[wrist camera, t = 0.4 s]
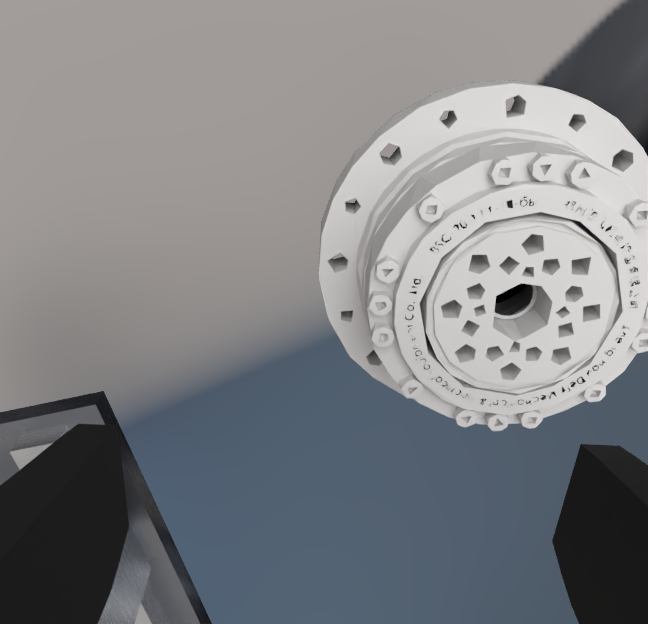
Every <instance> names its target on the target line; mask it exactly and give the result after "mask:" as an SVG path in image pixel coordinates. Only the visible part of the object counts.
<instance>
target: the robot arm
mask: <svg viewBox="0 0 648 624" xmlns="http://www.w3.org/2000/svg"><path fill="white" fill-rule="evenodd" d="M128 528H129V520H128V511H127V502H126V493H125V484H124V475H123V466H122V457H121V448H120V440H119V431H118V425H99V424H77V425H76V426H74V427H73V428H72V429H70V430H69V431H68V432H66V433H65V434H64V435H63V436H61V437H60V438H59V439H58V440H56V441H55V442H54V443H53V444H51V445H50V446H49V447H48V448H46V449H45V450H44V451H43V452H41V453H40V454H39V455H38V456H36V457H35V458H34V459H33V460H32V461H30V462H29V463H28V464H27V465H25V466H24V467H23V468H22V469H20V470H19V471H18V472H17V473H15V474H14V475H13V476H12V477H10V478H9V479H8V480H7V481H5V482H4V483H3V484H1V485H0V624H98V622H99V620H100V617H101V615H102V612H103V610H104V607H105V605H106V602H107V600H108V597H109V595H110V592H111V590H112V586H113V583H114V579H115V576H116V572H117V569H118V566H119V562H120V558H121V555H122V551H123V547H124V543H125V540H126V536H127V532H128ZM553 545H554V549H555V552H556V556H557V559H558V563H559V566H560V570H561V574H562V577H563V580H564V583H565V587H566V590H567V593H568V596H569V599H570V602H571V605H572V608H573V610H574V612H575V615H576V617H577V619H578V622H579V624H648V465H646V464H645V463H644V462H642V461H641V460H640V459H638V458H637V457H635V456H634V455H632V454H631V453H629V452H628V451H626V450H625V449H623V448H622V447H620V446H611V445H610V446H609V445H586V444H581V445H580V449H579V452H578V456H577V459H576V463H575V466H574V469H573V473H572V476H571V479H570V483H569V487H568V490H567V493H566V496H565V500H564V503H563V507H562V510H561V514H560V517H559V520H558V524H557V527H556V531H555V534H554V537H553Z"/></svg>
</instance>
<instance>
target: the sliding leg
mask: <svg viewBox="0 0 648 624" xmlns="http://www.w3.org/2000/svg"><path fill="white" fill-rule="evenodd" d="M150 571H151V566H150V564H149V562H148V560H147V558H146V556H145V554H144V552H143V550H142V548H141V546H140V544H139V542H138V540H137V538H136V536H135V534H134V532H133V530H132V528H131V526H130V524H129V528H128V532H127V536H126V540H125V543H124V547H123V551H122V555H121V558H120V562H119V566H118V569H117V572H116V576H115V579H114V583H113V586H112V590H111V592H110V595H109V597H108V600H107V602H106V605H105V607H104V610H103V612H102V615H101V617H100V620H99V622H98V624H134V623H135V620H136V617H137V614H138V610H139V607H140V604H141V601H142V597H143V594H144V591H145V588H146V584H147V581H148V578H149V575H150Z"/></svg>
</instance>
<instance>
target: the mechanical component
mask: <svg viewBox="0 0 648 624" xmlns="http://www.w3.org/2000/svg"><path fill="white" fill-rule="evenodd" d="M512 97H513V98H514V100H515V101H514V104H513V106H512V109H511V111H507V112H506V100H508V99H510V98H512ZM444 111H449V113H448V118H447V119H446V120H443V121H440V117H441V116H442V114H443V112H444ZM388 143H390V144H393V145H396V146H398V148H397V149H396V151H395V152H394V153H393V154H392V156H391V157H390V158H388V157H384V156H380V154H379V153H380V152H381V151H382V150H383V149H384V148H385V146H386V145H387V144H388ZM613 156H614V157H613ZM355 198H356V199H357V200H356V201H355V203H346V201H349V200H352V199H355ZM339 253H341V254H342V255H343V256H344V257H341V258H337V259H332V258H333V257H334V256H336V255H338V254H339ZM318 277H319V282H320V286H321V290H322V295H323V299H324V303H325V307H326V312H327V316H328V319H329V321H330V323H331V325H332V326H333V328H334V330H335V332H336V333H337V335H338V337H339V339H340V340H341V342H342V344H343V346H344V347H345V349H346V351H347V353H348V354H349V356H350V357H351V358H352V359H353V360H354V361H355V362H356V363H357V364H359V365H360V366H361V367H362V368H363V369H364V370H365V371H366V372H367V373H369V374H370V375H371V376H372V377H373V378H375V379H376V380H378V381H380V382H381V383H383V384H385V385H386V386H388V387H390V388H392V389H393V390H395V391H397V392H398V393H400V394H402V395H404V396H405V397H406V398H412V399H415V400H416V401H417V402H418V403H420V404H422V405H424V406H426V407H428V408H430V409H432V410H435V411H437V412H439V413H441V414H443V415H445V416H447V417H450V418H454V419H455V420H456V422H457V424H458V425H459V426H462V427H468V426H471V425H473V424H475V423H477V424H487V425H488V426H489V428H490V429H491V430H492V431H502V430H503V429H504V428H506V427H507V426H508V424H518V423H521V424H522V426H524V427H526V428H536V427H537V426H538V425H539V423H541V421H542V418H545V417H548V416H551V415H553V414H556V413H559V412H562V411H565V410H567V409H569V408H571V407H573V406H575V405H577V404H579V403H582V402H584V401H586V400H588V402H595V401H600V400H601V399H602V398H603V397H604V396H605V395H606V387H605V386H606V385H607V384H609V383H610V382H611V381H612V380H614V379H615V378H616V377H617V376H619V375H620V374H621V373H622V372H624V371H625V369H626V367H627V366H628V365H629V363H630V362H631V360H632V359H633V358H634V356H635V355H636V353H640V352H645V351H648V157H647V155H646V153H645V151H644V149H643V147H642V146H641V145H640V144H639V143H638V142H637V140H636V139H635V138H634V137H633V136H632V135H631V133H630V132H629V131H628V130H627V129H626V128H625V126H624V125H623V124H622V123H621V122H620V121H619V119H618V118H616V117H614V116H613V115H611V114H610V113H608V112H606V111H605V110H603V109H602V108H600V107H598V106H597V105H595V104H594V103H592V102H590V101H589V100H587V99H584V98H582V97H579V96H576V95H574V94H571V93H569V92H566V91H562V90H559V89H556V88H551V87H546V86H541V85H536V84H531V83H526V82H521V81H516V80H508V81H489V82H473V83H469V84H465V85H462V86H458V87H454V88H450V89H447V90H443V91H439V92H436V93H434V94H432V95H430V96H428V97H427V98H425V99H423V100H421V101H419V102H417V103H415V104H413V105H412V106H410V107H408V108H406V109H404V110H402V111H400V112H399V113H396V114H395V115H394V116H392V117H391V118H390V119H389V120H388V121H387V122H386V123H385V124H384V125H383V126H382V127H381V128H380V129H379V130H378V131H376V132H375V133H374V134H373V135H372V136H371V137H370V138H369V139H368V140H367V141H366V142H365V143H364V144H363V145H362V146H361V147H360V148H359V149H358V150H357V151H356V152H355V153H354V155H353V156H352V158H351V160H350V161H349V163H348V164H347V166H346V167H345V169H344V170H343V172H342V173H341V175H340V176H339V178H338V179H337V181H336V184H335V187H334V189H333V192H332V195H331V198H330V200H329V203H328V206H327V208H326V211H325V214H324V216H323V219H322V223H321V240H320V257H319V276H318ZM521 283H522V284H528V285H527V286H526V287H525V288H523V289H522V290H521V291H520V292H519V293H518V294H516V295H514V296H512V297H511V298H509V299H507V300H505V301H503V302H500V303H497V304H495V303H496V296H497V295H499V294H501V293H503V292H505V291H507V290H509V289H511V288H513V287H515V286H517V285H519V284H521Z"/></svg>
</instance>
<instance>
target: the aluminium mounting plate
mask: <svg viewBox="0 0 648 624" xmlns="http://www.w3.org/2000/svg"><path fill="white" fill-rule="evenodd" d="M77 424H99V425H118V431H119V440H120V448H121V457H122V466H123V475H124V484H125V493H126V502H127V511H128V520H129V524H130V526H131V528H132V530H133V532H134V534H135V536H136V538H137V540H138V542H139V544H140V546H141V548H142V550H143V552H144V554H145V556H146V558H147V560H148V562H149V564H150V566H151V571H150V575H149V578H148V581H147V584H146V588H145V591H144V594H143V597H142V601H141V604H140V607H139V610H138V614H137V617H136V620H135V623H134V624H212V623H211V621H210V619H209V617H208V615H207V613H206V610H205V608H204V606H203V604H202V602H201V600H200V597H199V596H198V593H197V591H196V589H195V587H194V585H193V582H192V580H191V578H190V576H189V574H188V572H187V569H186V567H185V566H184V563H183V561H182V559H181V557H180V555H179V552H178V550H177V548H176V546H175V544H174V542H173V540H172V537H171V535H170V533H169V531H168V529H167V527H166V524H165V522H164V520H163V518H162V516H161V514H160V512H159V510H158V507H157V505H156V503H155V501H154V499H153V497H152V494H151V492H150V491H149V488H148V486H147V484H146V481H145V480H144V477H143V475H142V473H141V471H140V469H139V467H138V464H137V462H136V460H135V458H134V456H133V453H132V451H131V449H130V447H129V445H128V443H127V441H126V439H125V436H124V434H123V432H122V430H121V428H120V426H119V423H118V421H117V419H116V417H115V415H114V413H113V411H112V408H111V406H110V404H109V402H108V400H107V398H106V395H105V393H104V391H102V392H97V393H93V394H87V395H83V396H78V397H73V398H68V399H63V400H58V401H54V402H49V403H44V404H39V405H35V406H30V407H25V408H20V409H15V410H10V411H6V412H1V413H0V485H1V484H3V483H4V482H5V481H7V480H8V479H9V478H10V477H12V476H13V475H14V474H15V473H17V472H18V471H19V470H20V469H22V468H23V467H24V466H25V465H27V464H28V463H29V462H30V461H32V460H33V459H34V458H35V457H36V456H38V455H39V454H40V453H41V452H43V451H44V450H45V449H46V448H48V447H49V446H50V445H51V444H53V443H54V442H55V441H56V440H58V439H59V438H60V437H61V436H63V435H64V434H65V433H66V432H68V431H69V430H70V429H72V428H73V427H74V426H76V425H77Z"/></svg>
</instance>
